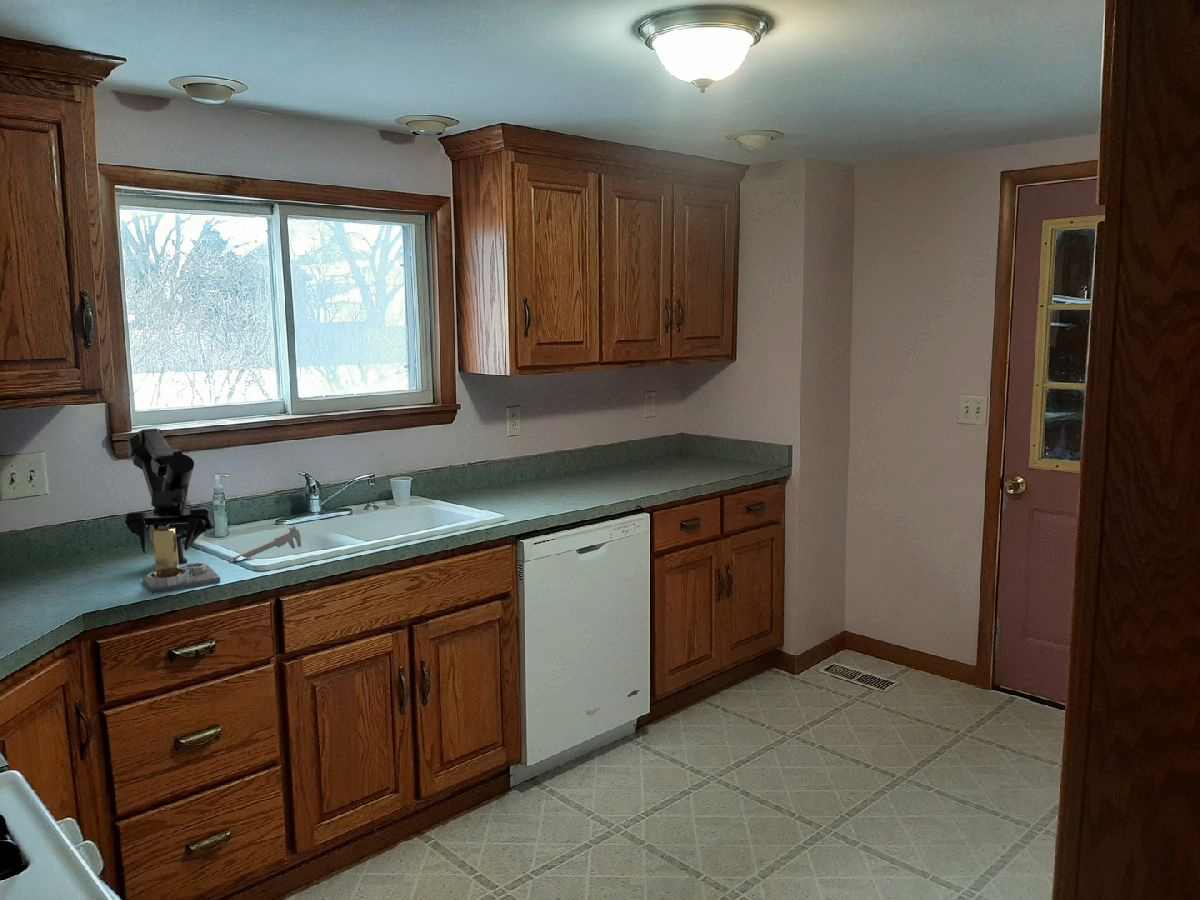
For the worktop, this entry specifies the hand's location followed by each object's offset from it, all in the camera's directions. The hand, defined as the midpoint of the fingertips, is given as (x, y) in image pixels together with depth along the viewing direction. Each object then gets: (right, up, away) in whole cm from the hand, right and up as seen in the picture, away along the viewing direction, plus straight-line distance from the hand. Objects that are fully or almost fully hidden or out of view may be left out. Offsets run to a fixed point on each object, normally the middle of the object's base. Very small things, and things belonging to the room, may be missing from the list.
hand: (164, 551), depth 216 cm
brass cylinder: (0, -7, +2) cm, 7 cm away
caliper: (+13, -5, +29) cm, 32 cm away
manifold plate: (+2, -8, +5) cm, 10 cm away
